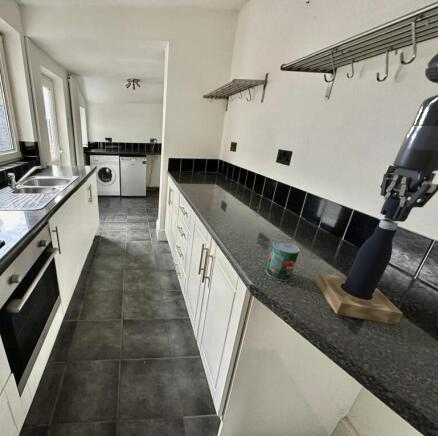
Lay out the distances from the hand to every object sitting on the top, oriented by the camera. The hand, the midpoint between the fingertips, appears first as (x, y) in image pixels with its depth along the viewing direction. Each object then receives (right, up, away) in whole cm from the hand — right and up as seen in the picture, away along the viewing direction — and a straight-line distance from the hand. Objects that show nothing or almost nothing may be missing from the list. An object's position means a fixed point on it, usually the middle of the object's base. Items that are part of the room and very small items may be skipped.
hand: (391, 217), depth 59 cm
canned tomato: (-16, -20, +22) cm, 34 cm away
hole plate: (-1, -25, +10) cm, 27 cm away
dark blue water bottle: (-1, -23, +10) cm, 25 cm away
